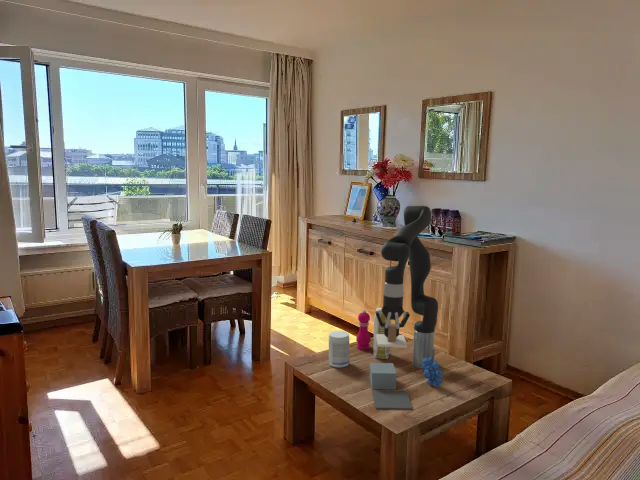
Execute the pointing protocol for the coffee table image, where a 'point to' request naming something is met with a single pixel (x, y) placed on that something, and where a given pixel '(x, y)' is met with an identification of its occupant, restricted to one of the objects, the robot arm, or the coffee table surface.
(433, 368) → the grapes
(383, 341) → the lid
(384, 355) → the juice carton
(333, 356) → the supplement tub
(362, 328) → the pepper mill
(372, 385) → the storage box
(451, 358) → the coffee table surface
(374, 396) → the rubber mat
